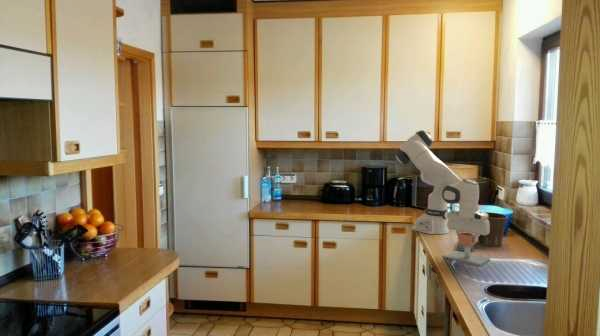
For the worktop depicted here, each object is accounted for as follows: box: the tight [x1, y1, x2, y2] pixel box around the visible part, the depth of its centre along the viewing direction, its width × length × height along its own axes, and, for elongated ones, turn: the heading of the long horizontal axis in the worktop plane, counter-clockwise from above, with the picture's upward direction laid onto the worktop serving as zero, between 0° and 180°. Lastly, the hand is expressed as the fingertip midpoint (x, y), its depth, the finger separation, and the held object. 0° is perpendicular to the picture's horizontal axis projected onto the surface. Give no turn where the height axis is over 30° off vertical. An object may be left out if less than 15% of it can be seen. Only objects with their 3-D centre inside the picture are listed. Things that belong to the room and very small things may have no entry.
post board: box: [443, 245, 491, 267], centre depth 224 cm, size 18×12×8 cm, turn 47°
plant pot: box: [477, 211, 509, 247], centre depth 253 cm, size 16×16×16 cm
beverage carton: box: [457, 231, 478, 252], centre depth 248 cm, size 8×19×7 cm, turn 154°
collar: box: [457, 231, 477, 246], centre depth 224 cm, size 6×6×5 cm
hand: (467, 240), depth 224 cm, fingers closed on collar, 6 cm apart
